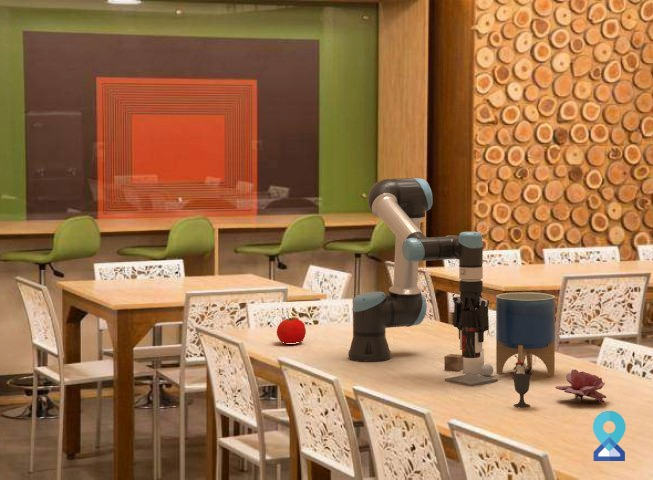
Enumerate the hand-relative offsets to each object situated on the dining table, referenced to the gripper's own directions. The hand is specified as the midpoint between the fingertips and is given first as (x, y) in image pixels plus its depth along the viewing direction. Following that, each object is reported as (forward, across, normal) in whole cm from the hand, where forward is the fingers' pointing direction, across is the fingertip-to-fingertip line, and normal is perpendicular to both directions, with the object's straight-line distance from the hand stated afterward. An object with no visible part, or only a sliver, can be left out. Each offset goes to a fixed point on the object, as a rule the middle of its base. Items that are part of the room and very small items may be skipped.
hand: (471, 350), depth 404 cm
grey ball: (+10, -2, +10) cm, 14 cm away
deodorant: (+2, 0, 0) cm, 2 cm away
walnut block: (+10, -17, +10) cm, 22 cm away
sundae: (+10, +35, -16) cm, 40 cm away
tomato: (+10, -96, +3) cm, 96 cm away
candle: (+10, -9, +11) cm, 17 cm away
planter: (+10, +5, +21) cm, 24 cm away
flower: (+10, +44, +1) cm, 45 cm away
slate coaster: (+10, 0, 0) cm, 10 cm away
